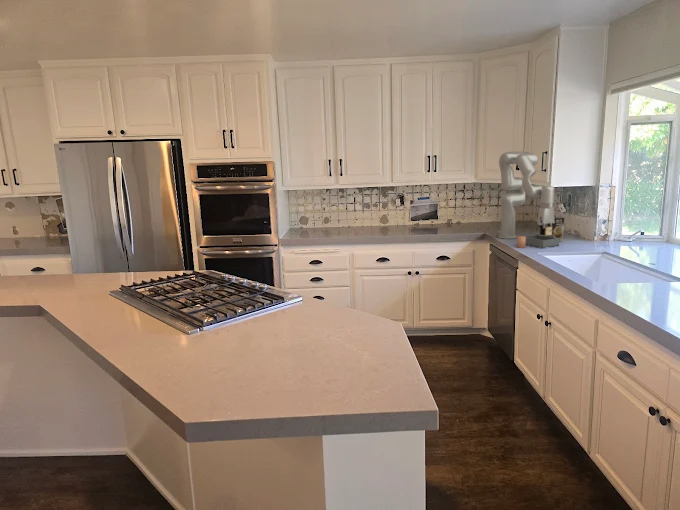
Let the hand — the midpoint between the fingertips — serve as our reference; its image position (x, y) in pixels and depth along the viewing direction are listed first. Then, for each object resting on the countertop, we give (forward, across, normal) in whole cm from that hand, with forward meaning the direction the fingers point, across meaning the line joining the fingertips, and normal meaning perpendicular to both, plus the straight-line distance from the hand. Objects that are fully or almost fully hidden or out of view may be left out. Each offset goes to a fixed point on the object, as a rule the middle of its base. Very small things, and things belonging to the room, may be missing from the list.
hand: (545, 233), depth 288 cm
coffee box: (+8, -18, -8) cm, 21 cm away
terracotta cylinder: (+8, +15, -5) cm, 18 cm away
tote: (+8, 0, -4) cm, 9 cm away
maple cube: (+1, 0, 0) cm, 1 cm away
